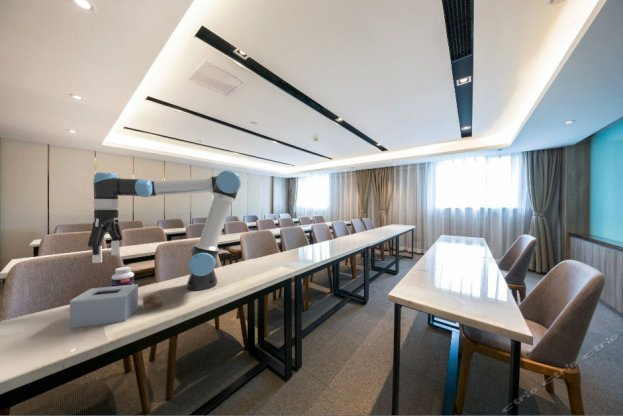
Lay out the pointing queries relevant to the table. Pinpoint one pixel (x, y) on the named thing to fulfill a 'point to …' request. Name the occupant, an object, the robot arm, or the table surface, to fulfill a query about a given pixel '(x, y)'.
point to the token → (152, 301)
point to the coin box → (103, 305)
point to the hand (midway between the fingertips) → (107, 258)
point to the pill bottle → (122, 277)
